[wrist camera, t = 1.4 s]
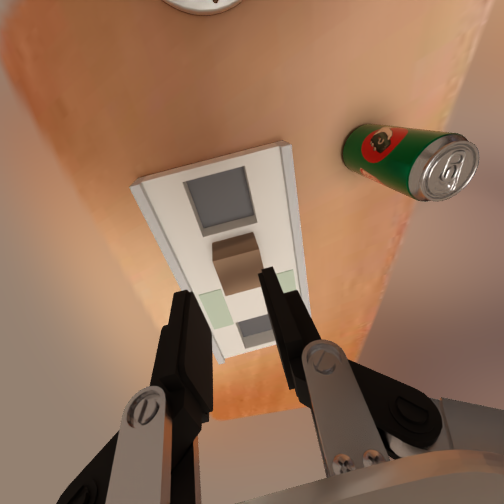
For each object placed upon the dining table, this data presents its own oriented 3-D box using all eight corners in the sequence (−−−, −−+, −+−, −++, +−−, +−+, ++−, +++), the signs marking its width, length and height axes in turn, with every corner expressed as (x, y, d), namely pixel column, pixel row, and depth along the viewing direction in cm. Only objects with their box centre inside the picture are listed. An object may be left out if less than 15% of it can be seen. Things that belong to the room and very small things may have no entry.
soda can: (336, 171, 28) (407, 207, 18) (345, 123, 26) (434, 134, 16) (375, 170, 29) (464, 204, 19) (388, 123, 27) (499, 134, 16)
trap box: (137, 177, 25) (129, 186, 23) (282, 140, 26) (291, 144, 23) (218, 347, 42) (219, 364, 39) (306, 322, 42) (313, 338, 39)
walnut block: (211, 242, 28) (212, 261, 25) (253, 231, 28) (259, 249, 25) (223, 275, 31) (225, 296, 27) (261, 265, 31) (267, 284, 27)
